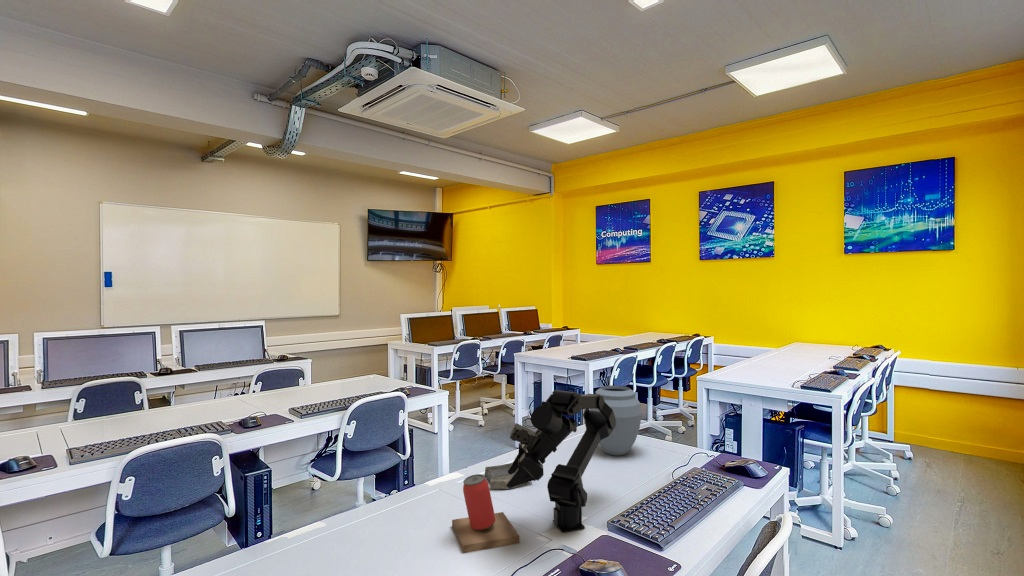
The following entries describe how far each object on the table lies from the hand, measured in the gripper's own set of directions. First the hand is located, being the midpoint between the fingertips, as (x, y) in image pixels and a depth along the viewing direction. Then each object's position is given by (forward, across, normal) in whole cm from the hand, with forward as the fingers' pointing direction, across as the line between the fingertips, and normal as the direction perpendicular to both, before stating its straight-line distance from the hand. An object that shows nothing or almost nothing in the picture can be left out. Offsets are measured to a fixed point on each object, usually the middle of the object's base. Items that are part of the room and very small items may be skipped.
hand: (508, 479), depth 127 cm
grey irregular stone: (+10, -36, +10) cm, 38 cm away
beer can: (+13, 0, +4) cm, 13 cm away
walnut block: (+14, 0, +6) cm, 16 cm away
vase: (-18, -63, +37) cm, 75 cm away
